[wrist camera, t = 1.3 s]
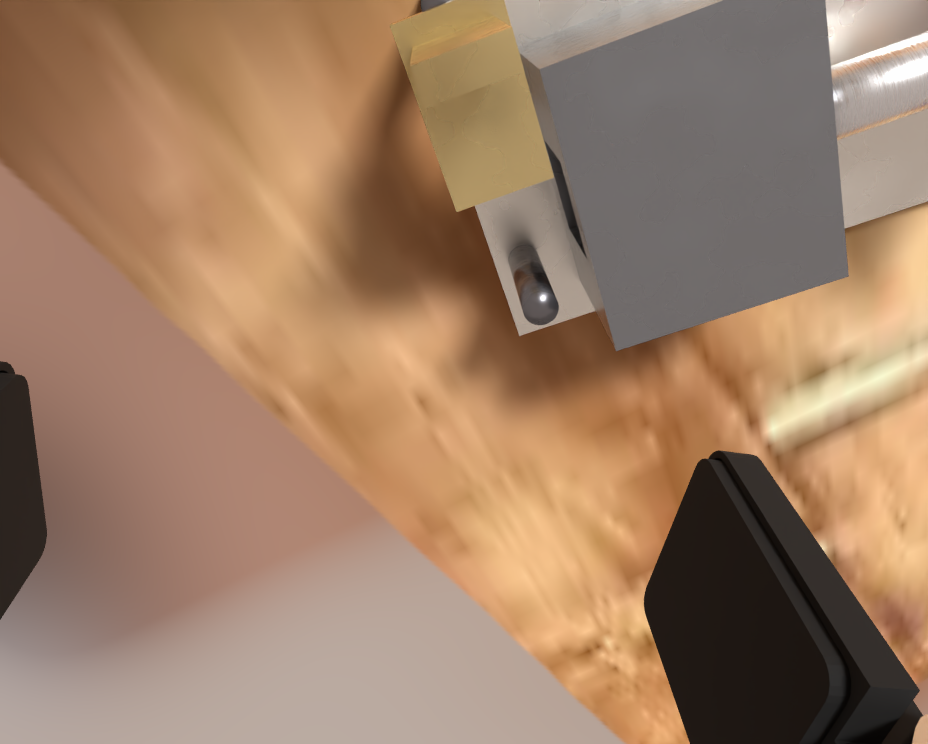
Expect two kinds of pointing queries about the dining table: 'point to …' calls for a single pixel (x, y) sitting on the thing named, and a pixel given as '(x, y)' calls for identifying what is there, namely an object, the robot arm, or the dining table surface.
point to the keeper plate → (474, 99)
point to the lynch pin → (881, 86)
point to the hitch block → (694, 158)
